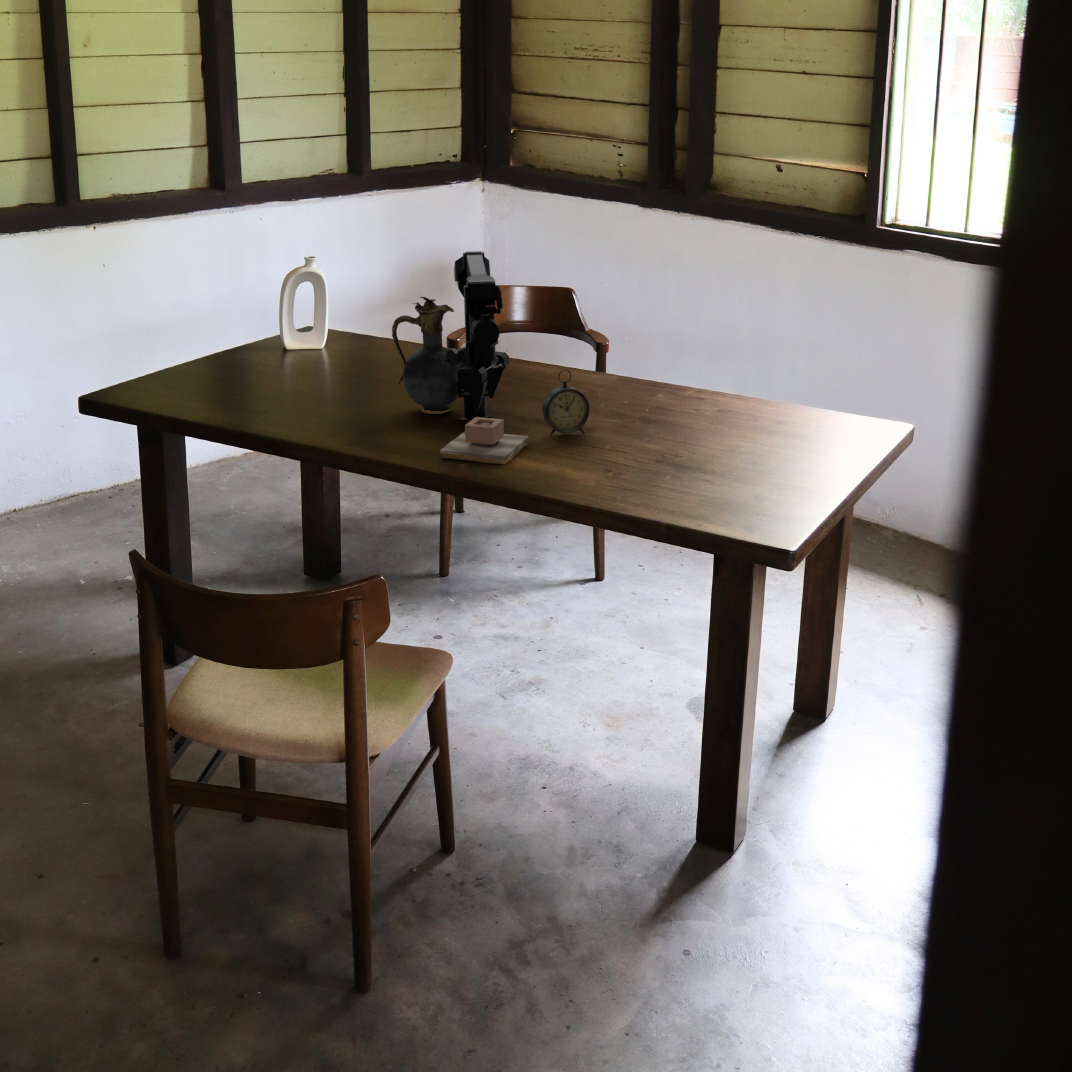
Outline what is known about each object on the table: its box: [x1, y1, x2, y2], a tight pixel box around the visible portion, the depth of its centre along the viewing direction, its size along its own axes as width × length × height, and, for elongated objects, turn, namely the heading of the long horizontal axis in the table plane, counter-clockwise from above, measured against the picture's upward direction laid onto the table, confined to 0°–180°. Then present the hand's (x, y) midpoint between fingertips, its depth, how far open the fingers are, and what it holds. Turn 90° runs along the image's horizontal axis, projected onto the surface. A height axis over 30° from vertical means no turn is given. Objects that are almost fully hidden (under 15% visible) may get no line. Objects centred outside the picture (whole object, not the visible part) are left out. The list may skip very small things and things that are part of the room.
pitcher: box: [391, 296, 463, 411], centre depth 303 cm, size 11×19×30 cm, turn 70°
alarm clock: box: [541, 369, 590, 437], centre depth 286 cm, size 11×5×16 cm, turn 105°
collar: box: [464, 417, 505, 445], centre depth 275 cm, size 7×7×4 cm
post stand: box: [439, 423, 530, 461], centre depth 276 cm, size 16×16×6 cm
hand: (484, 403), depth 273 cm, fingers open, 9 cm apart
